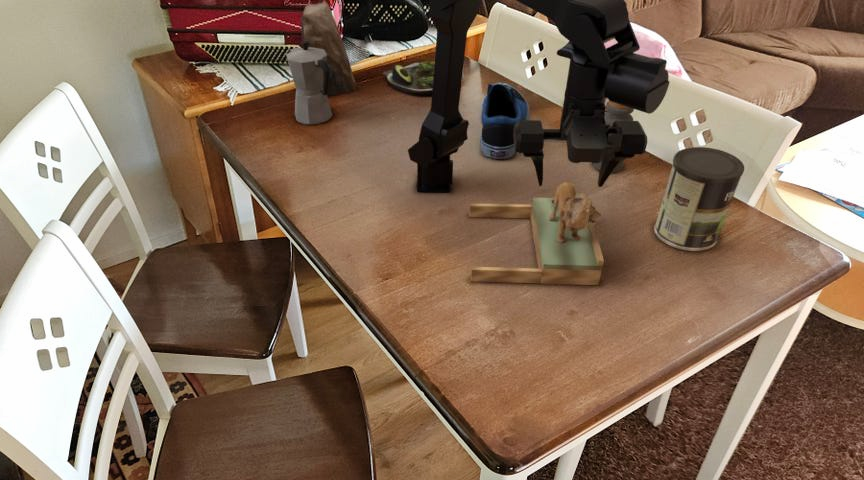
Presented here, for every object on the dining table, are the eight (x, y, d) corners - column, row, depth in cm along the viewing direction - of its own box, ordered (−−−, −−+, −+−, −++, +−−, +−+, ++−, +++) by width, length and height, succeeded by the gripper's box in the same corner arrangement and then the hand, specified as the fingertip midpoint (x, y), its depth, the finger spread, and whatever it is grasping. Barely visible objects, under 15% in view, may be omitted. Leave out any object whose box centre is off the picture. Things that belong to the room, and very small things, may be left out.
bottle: (588, 159, 128) (601, 90, 118) (616, 157, 128) (631, 88, 119) (598, 174, 123) (612, 103, 114) (627, 171, 124) (644, 101, 114)
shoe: (529, 101, 150) (535, 51, 142) (526, 163, 128) (533, 107, 120) (484, 99, 152) (487, 49, 144) (473, 160, 130) (477, 105, 122)
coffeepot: (283, 113, 151) (271, 38, 139) (315, 102, 155) (307, 29, 144) (316, 135, 141) (307, 57, 130) (350, 122, 145) (344, 46, 134)
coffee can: (721, 225, 109) (747, 154, 100) (713, 258, 102) (741, 184, 93) (659, 211, 113) (679, 141, 104) (648, 241, 106) (668, 169, 97)
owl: (310, 100, 156) (300, 18, 143) (296, 82, 165) (286, 4, 152) (357, 90, 159) (351, 10, 147) (341, 73, 168) (334, -4, 156)
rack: (470, 281, 100) (472, 257, 97) (469, 214, 114) (470, 191, 111) (598, 285, 98) (604, 260, 95) (580, 216, 112) (585, 193, 109)
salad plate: (424, 61, 173) (424, 44, 170) (474, 77, 163) (475, 59, 160) (375, 82, 163) (374, 65, 160) (425, 101, 153) (425, 83, 150)
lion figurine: (596, 253, 98) (607, 205, 92) (563, 256, 97) (572, 209, 92) (565, 202, 109) (573, 157, 103) (535, 205, 109) (542, 160, 103)
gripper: (524, 116, 83) (513, 213, 93) (668, 117, 81) (642, 215, 91) (518, 83, 91) (508, 174, 101) (648, 82, 90) (626, 176, 100)
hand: (569, 185), depth 98 cm, fingers open, 9 cm apart
